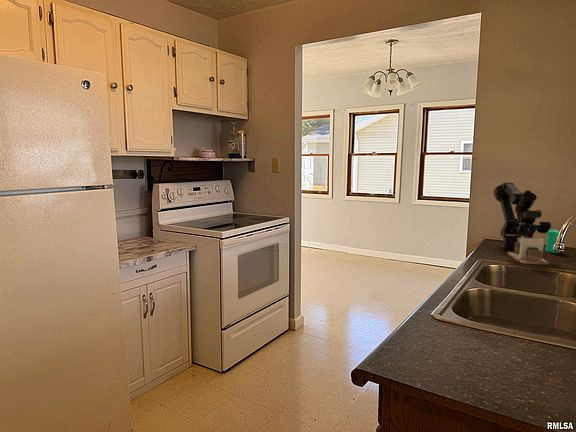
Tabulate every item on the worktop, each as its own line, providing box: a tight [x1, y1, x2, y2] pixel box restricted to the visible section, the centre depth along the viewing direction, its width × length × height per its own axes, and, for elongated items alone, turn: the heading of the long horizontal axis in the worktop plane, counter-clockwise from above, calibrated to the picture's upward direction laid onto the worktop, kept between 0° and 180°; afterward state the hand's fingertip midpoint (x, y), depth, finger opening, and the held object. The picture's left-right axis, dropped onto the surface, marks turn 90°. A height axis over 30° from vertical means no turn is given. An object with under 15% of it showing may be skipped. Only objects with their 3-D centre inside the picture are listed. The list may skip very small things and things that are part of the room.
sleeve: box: [519, 237, 545, 258], centre depth 177 cm, size 3×9×9 cm, turn 79°
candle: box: [545, 229, 561, 254], centre depth 198 cm, size 6×6×12 cm
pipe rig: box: [507, 242, 550, 266], centre depth 182 cm, size 18×11×6 cm, turn 169°
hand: (530, 241), depth 179 cm, fingers closed, pressing on sleeve
